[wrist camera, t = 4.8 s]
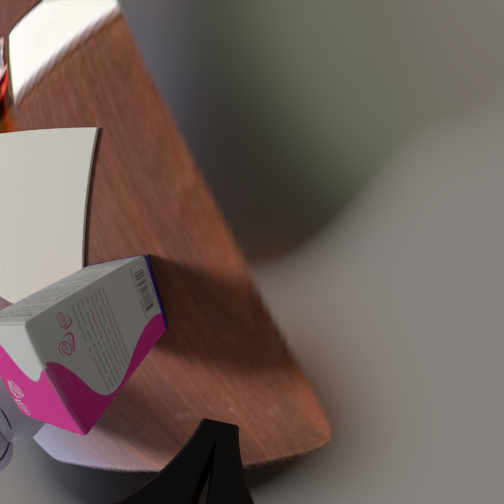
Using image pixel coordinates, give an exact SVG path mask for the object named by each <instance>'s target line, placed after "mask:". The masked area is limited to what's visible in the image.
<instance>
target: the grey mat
mask: <svg viewBox="0 0 504 504" xmlns="http://www.w3.org/2000/svg"><path fill="white" fill-rule="evenodd" d="M98 130H99V128H60V129H43V130H31V131H20V132H11V133H3V134H0V297H2V298H4V299H5V300H7V301H9V302H11V303H13V304H14V303H16V302H18V301H20V300H22V299H24V298H26V297H27V296H29V295H31V294H33V293H35V292H37V291H39V290H41V289H43V288H45V287H47V286H49V285H51V284H53V283H55V282H57V281H59V280H61V279H63V278H65V277H67V276H69V275H71V274H73V273H75V272H77V271H79V270H81V269H83V268H84V249H85V228H86V214H87V203H88V193H89V185H90V177H91V170H92V163H93V157H94V151H95V146H96V140H97V135H98Z"/></svg>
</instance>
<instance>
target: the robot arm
mask: <svg viewBox="0 0 504 504" xmlns="http://www.w3.org/2000/svg"><path fill="white" fill-rule="evenodd" d="M45 423H46V422H43V421H40V420H37V419H34V418H31V417H29V416H26V415H24V414H23V413H22V412H21V410H20V409H19V407H18V405H17V404H16V402H15V401H14V399H13V397H12V396H11V394H10V392H9V391H8V389H7V387H6V386H5V384H4V382H3V380H2V378H1V376H0V472H1V471H3V470H4V469H5V468H6V467H7V466H8V464H9V463H10V461H11V459H12V456H13V443H12V442H11V440H15V441H25V440H28V439H30V438H32V437H33V436H35V435H36V434H37V432H38V431H39V430H40V429H41V428H42V427H43V426H44V424H45ZM209 473H210V476H209ZM208 476H209V484H208V493H207V500H206V504H254V502H253V500H252V497H251V494H250V491H249V488H248V485H247V482H246V478H245V475H244V470H243V466H242V461H241V456H240V448H239V427H238V426H237V425H233V424H228V423H223V422H219V421H214V420H210V419H206V418H205V419H202V420H201V422H200V424H199V426H198V428H197V429H196V431H195V432H194V434H193V435H192V437H191V438H190V439H189V441H188V442H187V443H186V444H185V446H184V447H183V448H182V449H181V450H180V452H179V453H178V454H177V455H176V456H175V457H174V458H173V459H172V460H171V461H170V462H169V463H168V464H167V465H166V466H165V467H164V468H163V469H162V470H161V471H160V472H159V473H158V474H156V475H155V476H154V477H153V478H152V479H150V480H149V481H148V482H147V483H145V484H144V485H143V486H141V487H140V488H138V489H137V490H135V491H134V492H132V493H131V494H129V495H128V496H126V497H124V498H123V499H121V500H119V501H117V502H115V503H113V504H198V502H199V500H200V497H201V494H202V492H203V489H204V486H205V484H206V481H207V478H208Z"/></svg>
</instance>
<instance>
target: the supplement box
mask: <svg viewBox="0 0 504 504" xmlns="http://www.w3.org/2000/svg"><path fill="white" fill-rule="evenodd" d="M167 328H168V323H167V320H166V317H165V313H164V310H163V307H162V304H161V300H160V297H159V294H158V290H157V287H156V283H155V280H154V276H153V273H152V269H151V265H150V261H149V257H148V254H145V255H139V256H134V257H128V258H123V259H118V260H113V261H108V262H103V263H98V264H93V265H89V266H87V267H85V268H83V269H81V270H79V271H77V272H75V273H73V274H71V275H69V276H67V277H65V278H63V279H61V280H59V281H57V282H55V283H53V284H51V285H49V286H47V287H45V288H43V289H41V290H39V291H37V292H35V293H33V294H31V295H29V296H27V297H26V298H24V299H22V300H20V301H18V302H16V303H14V304H13V305H11V306H9V307H7V308H5V309H3V310H1V311H0V376H1V378H2V380H3V382H4V384H5V386H6V387H7V389H8V391H9V392H10V394H11V396H12V397H13V399H14V401H15V402H16V404H17V405H18V407H19V409H20V410H21V412H22V413H23V414H24V415H26V416H29V417H31V418H34V419H37V420H40V421H43V422H46V423H48V424H51V425H54V426H57V427H60V428H63V429H66V430H69V431H72V432H75V433H78V434H81V435H87V434H88V432H89V431H90V430H91V428H92V427H93V425H94V424H95V423H96V421H97V420H98V419H99V417H100V416H101V414H102V413H103V412H104V410H105V409H106V408H107V406H108V405H109V404H110V402H111V401H112V399H113V398H114V397H115V395H116V394H117V393H118V391H119V390H120V389H121V388H122V386H123V385H124V384H125V383H126V381H127V380H128V379H129V377H130V376H131V375H132V373H133V372H134V371H135V369H136V368H137V367H138V366H139V364H140V363H141V362H142V360H143V359H144V358H145V356H146V355H147V354H148V352H149V351H150V350H151V348H152V347H153V346H154V345H155V343H156V342H157V341H158V340H159V338H160V337H161V336H162V335H163V333H164V332H165V331H166V329H167Z"/></svg>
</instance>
